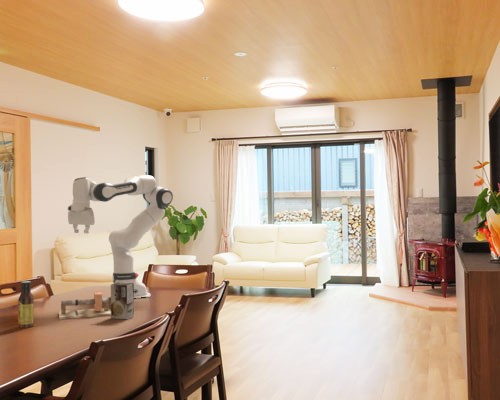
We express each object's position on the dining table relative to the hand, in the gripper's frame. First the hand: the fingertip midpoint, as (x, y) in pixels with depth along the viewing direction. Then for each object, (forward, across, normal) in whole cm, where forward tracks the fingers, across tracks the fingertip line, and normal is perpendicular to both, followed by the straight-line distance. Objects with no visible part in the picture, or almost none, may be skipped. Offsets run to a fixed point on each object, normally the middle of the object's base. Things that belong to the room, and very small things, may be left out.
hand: (81, 233), depth 286 cm
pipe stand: (+38, -25, +14) cm, 47 cm away
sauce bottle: (+38, -28, +45) cm, 65 cm away
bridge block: (+36, -28, +8) cm, 46 cm away
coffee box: (+38, -45, +6) cm, 59 cm away
